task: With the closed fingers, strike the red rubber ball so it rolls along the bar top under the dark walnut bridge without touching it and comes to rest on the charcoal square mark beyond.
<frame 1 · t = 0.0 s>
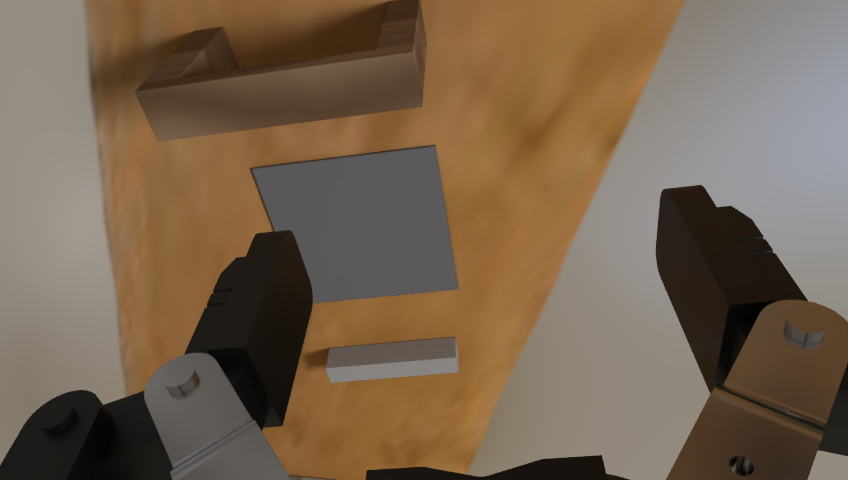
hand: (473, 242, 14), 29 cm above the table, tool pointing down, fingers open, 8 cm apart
bridge: (310, 37, 40), on the table
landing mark: (362, 231, 50), on the table
stopper: (393, 349, 58), on the table
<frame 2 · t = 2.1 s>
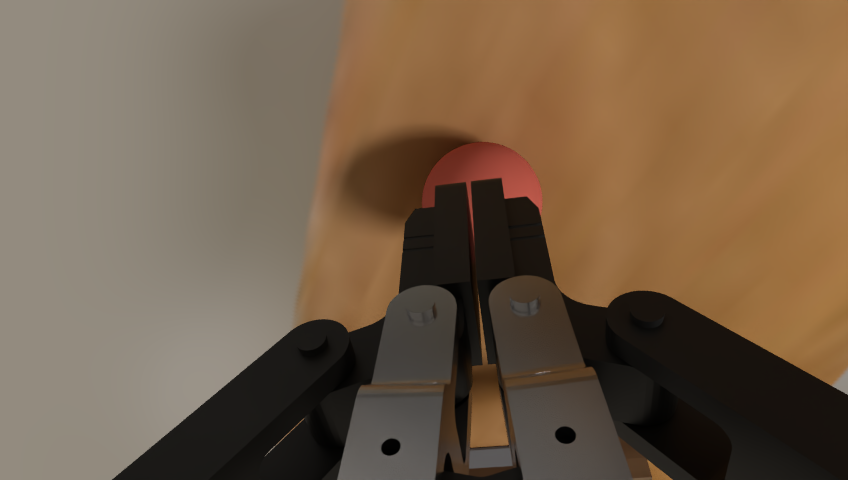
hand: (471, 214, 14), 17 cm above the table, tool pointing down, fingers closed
bridge: (502, 368, 43), on the table
ball: (481, 202, 31), on the table
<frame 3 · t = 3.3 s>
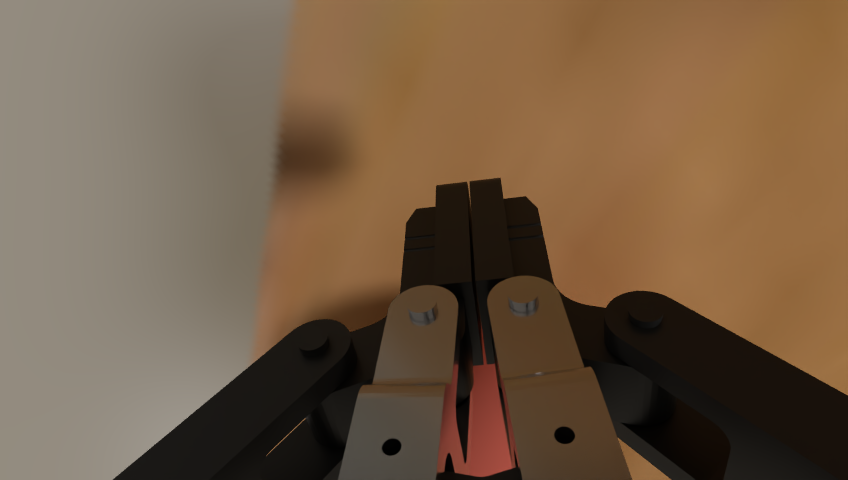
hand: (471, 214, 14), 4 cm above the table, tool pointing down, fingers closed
ball: (496, 409, 20), on the table
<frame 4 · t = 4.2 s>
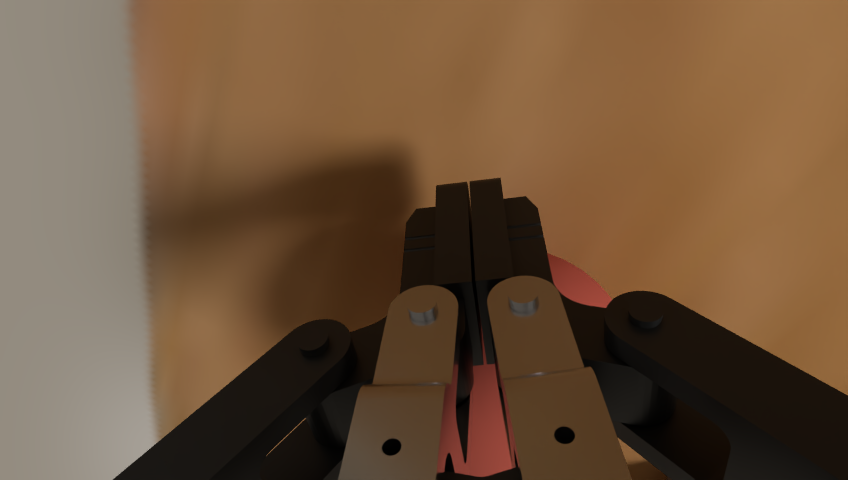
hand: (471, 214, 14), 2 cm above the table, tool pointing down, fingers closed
ball: (513, 364, 16), on the table
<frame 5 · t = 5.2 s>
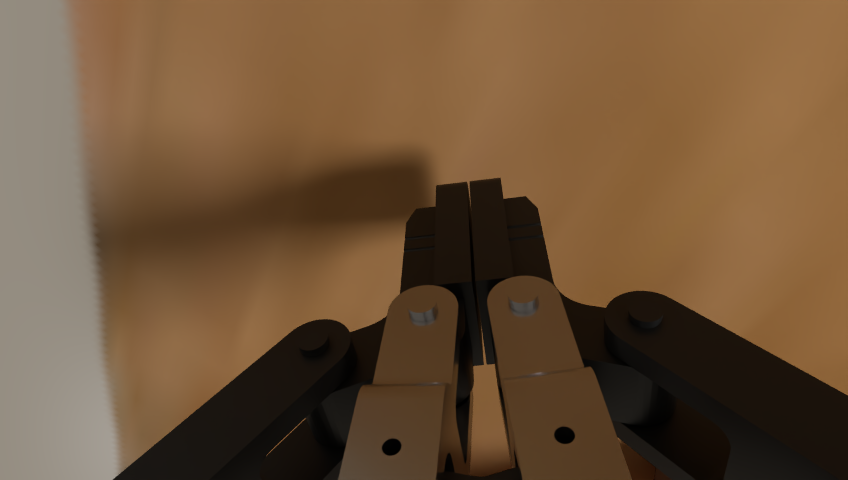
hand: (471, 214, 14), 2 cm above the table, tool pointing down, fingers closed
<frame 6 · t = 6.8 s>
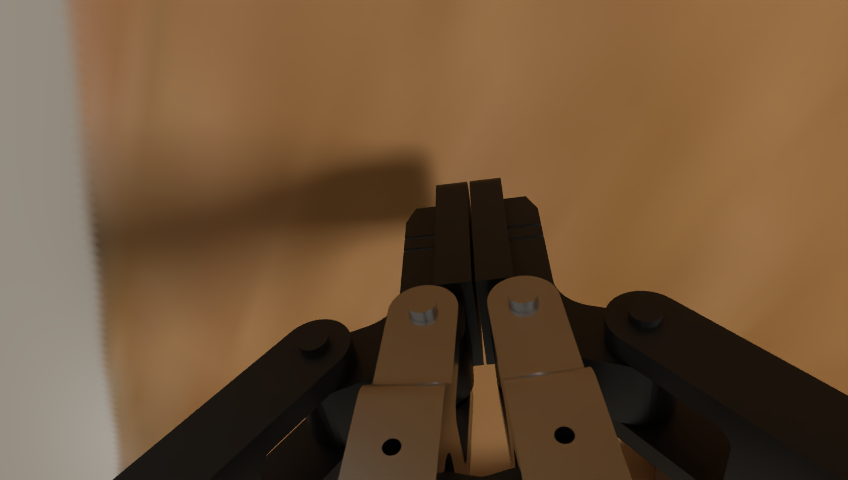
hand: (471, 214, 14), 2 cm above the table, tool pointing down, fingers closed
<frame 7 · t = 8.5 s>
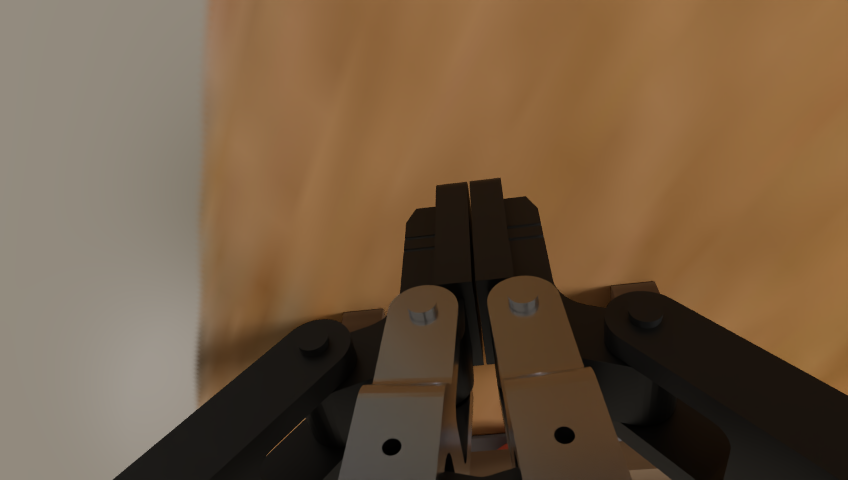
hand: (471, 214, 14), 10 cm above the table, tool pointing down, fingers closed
bridge: (497, 320, 31), on the table
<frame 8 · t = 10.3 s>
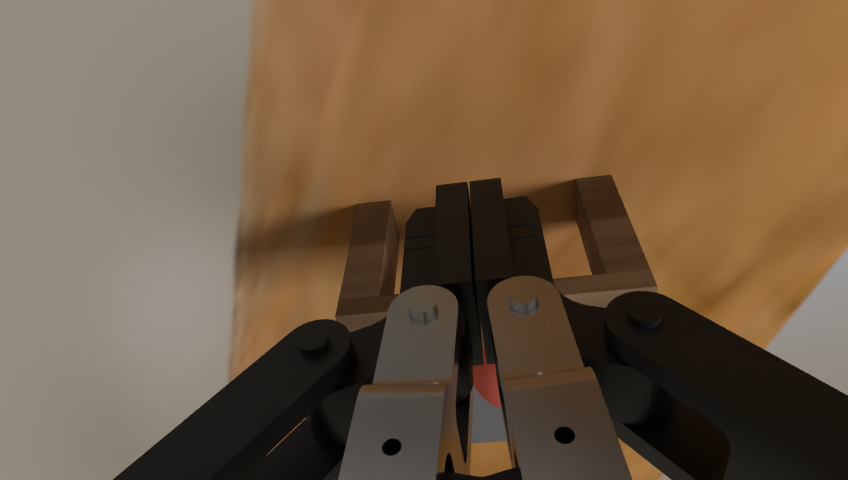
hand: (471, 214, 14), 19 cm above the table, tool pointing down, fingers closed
bridge: (484, 210, 37), on the table
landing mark: (504, 383, 47), on the table
ball: (513, 364, 41), on the table
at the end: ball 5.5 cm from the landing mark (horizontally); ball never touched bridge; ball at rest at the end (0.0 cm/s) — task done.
